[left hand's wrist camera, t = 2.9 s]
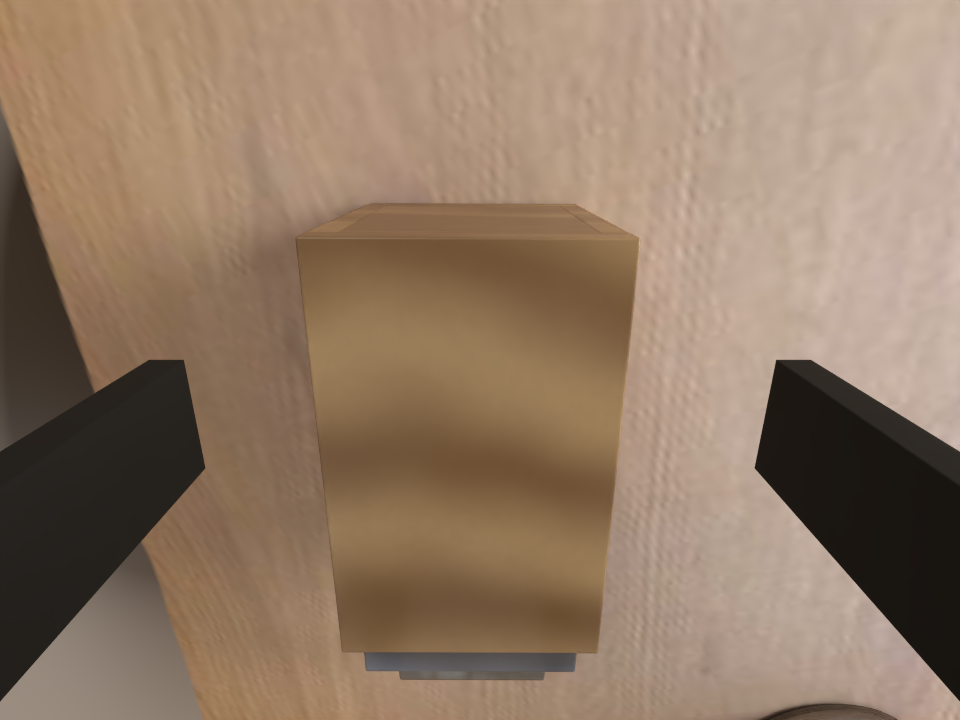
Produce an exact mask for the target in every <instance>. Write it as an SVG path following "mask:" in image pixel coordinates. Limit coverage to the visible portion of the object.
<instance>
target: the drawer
mask: <svg viewBox="0 0 960 720" xmlns="http://www.w3.org/2000/svg"><path fill="white" fill-rule="evenodd" d="M364 655H365V666H366V671H399V675H400V679H401V680H544V675H545V672H574V671H575V664H576V653H433V652H364Z"/></svg>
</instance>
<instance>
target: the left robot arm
mask: <svg viewBox="0 0 960 720" xmlns="http://www.w3.org/2000/svg"><path fill="white" fill-rule="evenodd" d="M204 469H205V464H204V459H203V454H202V449H201V444H200V439H199V434H198V429H197V424H196V419H195V414H194V409H193V404H192V399H191V394H190V389H189V384H188V379H187V374H186V369H185V364H184V360H148V361H147V362H145V363H143V364H142V365H140V366H138V367H137V368H135V369H134V370H132V371H130V372H129V373H127V374H125V375H124V376H122V377H121V378H119V379H117V380H116V381H114V382H113V383H111V384H109V385H108V386H106V387H104V388H103V389H101V390H100V391H98V392H96V393H95V394H93V395H91V396H90V397H88V398H87V399H85V400H83V401H82V402H80V403H78V404H77V405H75V406H74V407H72V408H70V409H69V410H67V411H66V412H64V413H62V414H61V415H59V416H57V417H56V418H54V419H53V420H51V421H49V422H48V423H46V424H44V425H43V426H41V427H40V428H38V429H36V430H35V431H33V432H31V433H30V434H28V435H27V436H25V437H23V438H22V439H20V440H18V441H17V442H15V443H14V444H12V445H10V446H9V447H7V448H6V449H4V450H2V451H1V452H0V701H1V700H2V699H3V697H4V696H5V695H6V694H7V693H8V692H9V691H10V690H11V688H12V687H13V686H14V685H15V684H16V683H17V682H18V680H19V679H20V678H21V677H22V676H23V675H24V674H25V673H26V671H27V670H28V669H29V668H30V667H31V666H32V665H33V663H34V662H35V661H36V660H37V659H38V658H39V657H40V655H41V654H42V653H43V652H44V651H45V650H46V649H47V648H48V646H49V645H50V644H51V643H52V642H53V641H54V640H55V638H56V637H57V636H58V635H59V634H60V633H61V632H62V630H63V629H64V628H65V627H66V626H67V625H68V624H69V623H70V621H71V620H72V619H73V618H74V617H75V616H76V614H77V613H78V612H79V611H80V610H81V609H82V608H83V607H84V605H85V604H86V603H87V602H88V601H89V600H90V599H91V598H92V596H93V595H94V594H95V593H96V592H97V591H98V590H99V588H100V587H101V586H102V585H103V584H104V583H105V582H106V580H107V579H108V578H109V577H110V576H111V575H112V574H113V572H114V571H115V570H116V569H117V568H118V567H119V566H120V565H121V563H122V562H123V561H124V560H125V559H126V558H127V557H128V555H129V554H130V553H131V552H132V551H133V550H134V549H135V547H136V546H137V545H138V544H139V543H140V542H141V541H142V540H143V538H144V537H145V536H146V535H147V534H148V533H149V532H150V530H151V529H152V528H153V527H154V526H155V525H156V524H157V522H158V521H159V520H160V519H161V518H162V517H163V516H164V515H165V513H166V512H167V511H168V510H169V509H170V508H171V507H172V505H173V504H174V503H175V502H176V501H177V500H178V499H179V497H180V496H181V495H182V494H183V493H184V492H185V491H186V490H187V488H188V487H189V486H190V485H191V484H192V483H193V482H194V480H195V479H196V478H197V477H198V476H199V475H200V474H201V472H202V471H203V470H204ZM755 469H756V470H757V471H758V472H759V474H760V475H761V476H762V477H763V478H764V479H765V480H766V482H767V483H768V484H769V485H770V486H771V487H772V488H773V490H774V491H775V492H776V493H777V494H778V495H779V496H780V497H781V499H782V500H783V501H784V502H785V503H786V504H787V505H788V507H789V508H790V509H791V510H792V511H793V512H794V513H795V515H796V516H797V517H798V518H799V519H800V520H801V521H802V522H803V524H804V525H805V526H806V527H807V528H808V529H809V530H810V532H811V533H812V534H813V535H814V536H815V537H816V538H817V540H818V541H819V542H820V543H821V544H822V545H823V546H824V548H825V549H826V550H827V551H828V552H829V553H830V554H831V555H832V557H833V558H834V559H835V560H836V561H837V562H838V563H839V565H840V566H841V567H842V568H843V569H844V570H845V571H846V573H847V574H848V575H849V576H850V577H851V578H852V579H853V580H854V582H855V583H856V584H857V585H858V586H859V587H860V588H861V590H862V591H863V592H864V593H865V594H866V595H867V596H868V598H869V599H870V600H871V601H872V602H873V603H874V604H875V605H876V607H877V608H878V609H879V610H880V611H881V612H882V613H883V615H884V616H885V617H886V618H887V619H888V620H889V621H890V623H891V624H892V625H893V626H894V627H895V628H896V629H897V630H898V632H899V633H900V634H901V635H902V636H903V637H904V638H905V640H906V641H907V642H908V643H909V644H910V645H911V646H912V648H913V649H914V650H915V651H916V652H917V653H918V654H919V656H920V657H921V658H922V659H923V660H924V661H925V662H926V663H927V665H928V666H929V667H930V668H931V669H932V670H933V671H934V673H935V674H936V675H937V676H938V677H939V678H940V679H941V681H942V682H943V683H944V684H945V685H946V686H947V687H948V688H949V690H950V691H951V692H952V693H953V694H954V695H955V696H956V698H957V699H958V700H959V701H960V452H959V451H958V450H956V449H954V448H953V447H951V446H950V445H948V444H946V443H945V442H943V441H942V440H940V439H938V438H937V437H935V436H933V435H932V434H930V433H929V432H927V431H925V430H924V429H922V428H920V427H919V426H917V425H916V424H914V423H912V422H911V421H909V420H907V419H906V418H904V417H903V416H901V415H899V414H898V413H896V412H895V411H893V410H891V409H890V408H888V407H886V406H885V405H883V404H882V403H880V402H878V401H877V400H875V399H873V398H872V397H870V396H869V395H867V394H865V393H864V392H862V391H860V390H859V389H857V388H856V387H854V386H852V385H851V384H849V383H847V382H846V381H844V380H843V379H841V378H839V377H838V376H836V375H835V374H833V373H831V372H830V371H828V370H826V369H825V368H823V367H822V366H820V365H818V364H817V363H815V362H813V361H812V360H776V364H775V369H774V374H773V379H772V384H771V389H770V394H769V399H768V404H767V409H766V414H765V419H764V424H763V429H762V434H761V439H760V444H759V449H758V454H757V459H756V464H755Z"/></svg>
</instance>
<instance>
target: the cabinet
mask: <svg viewBox="0 0 960 720" xmlns="http://www.w3.org/2000/svg"><path fill="white" fill-rule="evenodd" d="M640 241H641V240H640V238H638V237H637V236H635V235H633V234H630V233H628V232H626V231H625V230H623V229H621V228H619V227H617V226H615V225H613V224H611V223H610V222H608V221H606V220H604V219H602V218H600V217H598V216H596V215H595V214H593V213H591V212H589V211H587V210H585V209H583V208H581V207H580V206H578V205H576V204H396V203H371V204H369V205H366V206H364V207H361V208H359V209H357V210H355V211H353V212H350V213H348V214H346V215H344V216H341V217H339V218H337V219H335V220H333V221H330V222H328V223H326V224H324V225H321V226H319V227H317V228H315V229H313V230H310V231H308V232H306V233H304V234H302V235H300V236H298V237H296V247H297V256H298V265H299V274H300V283H301V292H302V300H303V309H304V318H305V327H306V336H307V345H308V354H309V363H310V371H311V380H312V389H313V398H314V407H315V416H316V425H317V433H318V442H319V451H320V460H321V469H322V478H323V487H324V496H325V504H326V513H327V522H328V531H329V540H330V549H331V558H332V567H333V575H334V584H335V593H336V602H337V611H338V620H339V629H340V637H341V646H342V652H433V653H597V652H598V643H599V634H600V624H601V614H602V605H603V595H604V586H605V576H606V567H607V557H608V548H609V538H610V528H611V519H612V509H613V500H614V490H615V481H616V471H617V461H618V452H619V442H620V433H621V423H622V414H623V404H624V394H625V385H626V375H627V366H628V356H629V347H630V337H631V327H632V318H633V308H634V299H635V289H636V280H637V270H638V260H639V251H640Z"/></svg>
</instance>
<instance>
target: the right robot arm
mask: <svg viewBox="0 0 960 720" xmlns="http://www.w3.org/2000/svg"><path fill="white" fill-rule="evenodd" d="M769 720H897V719H895V718H894V717H892V716H890V715H888V714H886V713H883V712H881V711H878V710H875V709H872V708H867V707H863V706H856V705H845V704H830V705H818V706H811V707H806V708H801V709H797V710H793V711H790V712H787V713H784V714H781V715H778V716H776V717H773V718H771V719H769Z"/></svg>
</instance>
